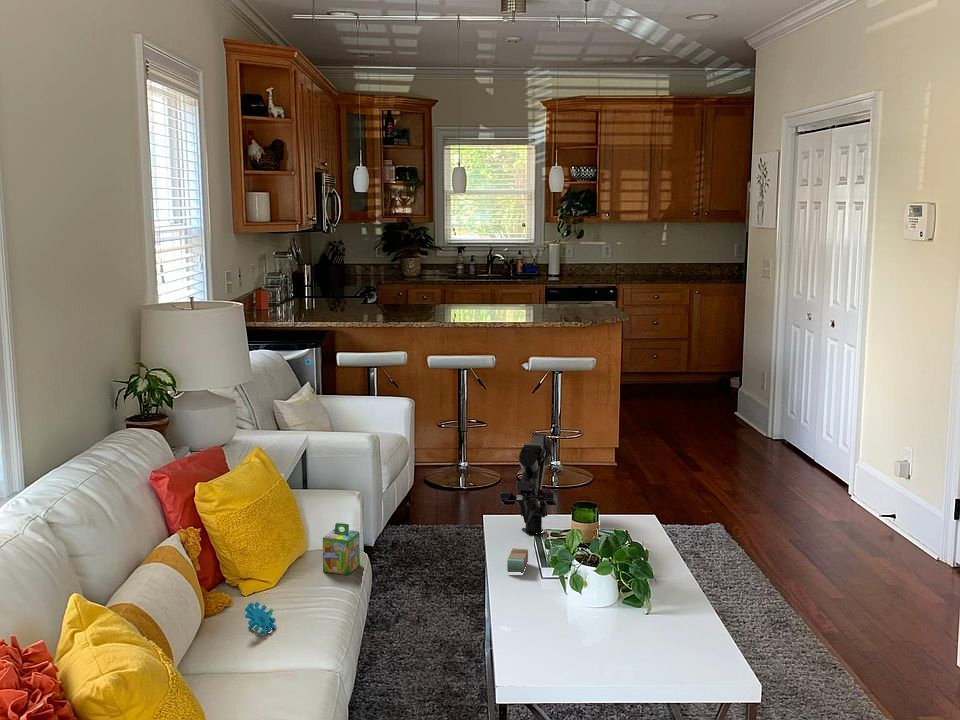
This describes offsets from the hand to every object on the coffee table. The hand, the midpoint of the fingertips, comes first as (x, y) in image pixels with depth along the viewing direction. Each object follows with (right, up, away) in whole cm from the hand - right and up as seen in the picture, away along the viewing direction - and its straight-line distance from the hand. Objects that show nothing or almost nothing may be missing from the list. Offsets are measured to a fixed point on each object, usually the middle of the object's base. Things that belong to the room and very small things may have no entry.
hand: (525, 522), depth 315 cm
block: (-2, -9, -8) cm, 12 cm away
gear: (-75, -21, -52) cm, 94 cm away
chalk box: (-59, -13, -11) cm, 62 cm away
